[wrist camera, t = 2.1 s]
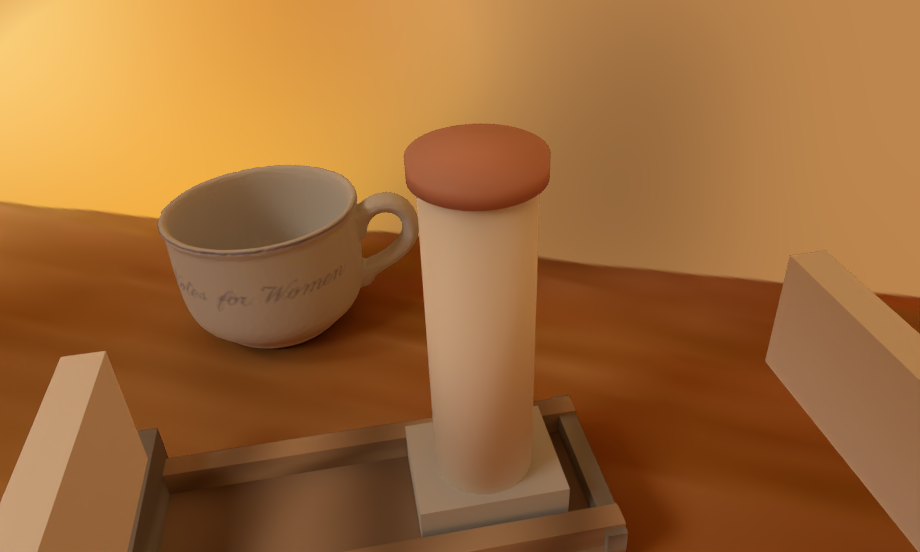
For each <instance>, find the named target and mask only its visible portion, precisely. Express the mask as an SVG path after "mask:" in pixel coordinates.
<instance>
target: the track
mask: <svg viewBox="0 0 920 552" xmlns="http://www.w3.org/2000/svg"><path fill="white" fill-rule="evenodd" d="M533 406H538V408H539V410H540V413H541V415H542V418H543V421H544V423H545V426H546V428H547V431H548V434H549V436H550V439H551V441H552V444H553V446H554V449H555V452H556V454H557V457H558V459H559V462H560V465H561V467H562V470H563V472H564V475H565V478H566V480H567V483H568V485H569V488H570V494H569V507H568V512H565V513H559V514H553V515H548V516H542V517H536V518H531V519H525V520H519V521H514V522H508V523H502V524H497V525H491V526H485V527H480V528H474V529H468V530H463V531H457V532H451V533H446V534H440V535H434V536H429V537H423V538H422V537H421V531H420V525H419V519H418V513H417V507H416V501H415V495H414V489H413V483H412V477H411V471H410V465H409V460H408V450H407V440H406V430H405V426H410V425H417V424H423V423H430V422H433V417H430V418H424V419H418V420H411V421H405V422H398V423H392V424H385V425H379V426H372V427H366V428H360V429H353V430H347V431H340V432H334V433H327V434H321V435H315V436H308V437H302V438H295V439H289V440H282V441H276V442H269V443H263V444H257V445H250V446H244V447H237V448H231V449H224V450H218V451H212V452H205V453H199V454H192V455H186V456H179V457H173V458H168V456H167V453H166V450H165V447H164V445H163V442H162V439H161V436H160V434H159V431H158V428H154V429H147V430H140V431H137V432H138V434H139V437H140V439H141V442H142V445H143V447H144V450H145V452H146V455H147V457H148V461H147V465H146V469H145V474H144V478H143V483H142V487H141V492H140V496H139V501H138V505H137V510H136V514H135V519H134V523H133V528H132V532H131V537H130V541H129V546H128V550H127V552H626V546H627V540H628V531H627V528H626V522H625V520H624V517H623V515H622V513H621V511H620V508H619V506H618V504H617V503H615V501H614V499H613V497H612V494H611V492H610V490H609V488H608V485H607V483H606V481H605V478H604V476H603V474H602V472H601V469H600V467H599V465H598V463H597V460H596V458H595V456H594V454H593V451H592V449H591V447H590V444H589V442H588V440H587V438H586V435H585V433H584V431H583V429H582V426H581V424H580V422H579V419H578V417H577V415H576V409H575V407H574V404H573V402H572V400H571V398H570V396H568V395H562V396H556V397H551V399H546V400H540V401H533Z"/></svg>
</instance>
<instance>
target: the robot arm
mask: <svg viewBox="0 0 920 552" xmlns="http://www.w3.org/2000/svg"><path fill="white" fill-rule="evenodd" d="M765 362H766V363H767V364H768V366H769V367H770V368H771V369H772V371H773V372H774V373H775V374H776V376H777V377H778V378H779V379H780V380H781V382H782V383H783V384H784V385H785V387H786V388H787V389H788V390H789V392H790V393H791V394H792V395H793V397H794V398H795V399H796V400H797V402H798V403H799V404H800V405H801V407H802V408H803V409H804V410H805V412H806V413H807V414H808V415H809V417H810V418H811V419H812V420H813V422H814V423H815V424H816V425H817V427H818V428H819V429H820V430H821V431H822V433H823V434H824V435H825V436H826V438H827V439H828V440H829V441H830V443H831V444H832V445H833V446H834V448H835V449H836V450H837V451H838V453H839V454H840V455H841V456H842V458H843V459H844V460H845V461H846V463H847V464H848V465H849V466H850V468H851V469H852V470H853V471H854V473H855V474H856V475H857V476H858V478H859V479H860V480H861V481H862V483H863V484H864V485H865V486H866V487H867V489H868V490H869V491H870V492H871V494H872V495H873V496H874V497H875V499H876V500H877V501H878V502H879V504H880V505H881V506H882V507H883V509H884V510H885V511H886V512H887V514H888V515H889V516H890V517H891V519H892V520H893V521H894V522H895V524H896V525H897V526H898V527H899V529H900V530H901V531H902V532H903V534H904V535H905V536H906V537H907V538H908V540H909V541H910V542H911V543H912V545H913V546H914V547H915V548H916V550H917V551H918V552H920V334H919V333H918V332H917V331H916V330H915V329H913V328H912V327H911V326H910V325H909V324H908V323H907V322H906V321H904V320H903V319H902V318H901V317H900V316H899V315H898V314H897V313H895V312H894V311H893V310H892V309H891V308H890V307H889V306H888V305H886V304H885V303H884V302H883V301H882V300H881V299H880V298H879V297H877V296H876V295H875V294H874V293H873V292H872V291H871V290H870V289H868V288H867V287H866V286H865V285H864V284H863V283H862V282H861V281H859V280H858V279H857V278H856V277H855V276H854V275H853V274H852V273H850V272H849V271H848V270H847V269H846V268H845V267H844V266H843V265H841V264H840V263H839V262H838V261H837V260H836V259H835V258H833V256H831V255H830V254H829V253H828V252H827V251H825V250H824V251H817V252H810V253H803V254H795V255H790V258H789V262H788V267H787V271H786V275H785V279H784V283H783V288H782V292H781V296H780V300H779V305H778V309H777V313H776V317H775V321H774V326H773V330H772V334H771V338H770V343H769V347H768V351H767V355H766V360H765ZM147 461H148V457H147V455H146V452H145V450H144V447H143V445H142V442H141V439H140V437H139V434H138V432H137V429H136V427H135V424H134V422H133V419H132V416H131V414H130V411H129V409H128V406H127V404H126V401H125V399H124V396H123V394H122V391H121V388H120V386H119V383H118V381H117V378H116V376H115V373H114V371H113V368H112V365H111V363H110V360H109V358H108V355H107V353H106V351H100V352H93V353H86V354H79V355H72V356H65V357H61V358H60V360H59V362H58V365H57V367H56V370H55V372H54V374H53V377H52V379H51V382H50V384H49V386H48V389H47V391H46V394H45V396H44V399H43V401H42V403H41V406H40V408H39V411H38V413H37V415H36V418H35V420H34V423H33V425H32V427H31V430H30V432H29V435H28V437H27V439H26V442H25V444H24V447H23V449H22V452H21V454H20V456H19V459H18V461H17V464H16V466H15V468H14V471H13V473H12V476H11V478H10V480H9V483H8V485H7V488H6V490H5V493H4V495H3V497H2V500H1V502H0V552H127V550H128V546H129V541H130V537H131V532H132V528H133V523H134V519H135V514H136V510H137V505H138V501H139V496H140V492H141V487H142V483H143V478H144V474H145V469H146V465H147Z"/></svg>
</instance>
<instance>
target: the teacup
mask: <svg viewBox="0 0 920 552" xmlns="http://www.w3.org/2000/svg"><path fill="white" fill-rule="evenodd" d="M356 202H357V195H356V191H355V189H354V186H353V185H352V184H351V183H350V181H349V180H348V179H347V178H345V177H344V176H342V175H341V174H338V173H336V172H334V171H329V170H326V169H322V168H318V167H310V166H298V165H277V166H267V167H257V168H252V169H246V170H242V171H239V172H233V173H229V174H225V175H222V176H219V177H216V178H214V179H210V180H208V181H205V182H203V183H200V184H198V185H196V186H194V187H192V188H191V189H189V190H187V191H185V192H184V193H182V194H181V195H180V196H178V197H177V198H176V199H174V200H173V201H171V202H170V204H169V205H168V206H167V207H165V208H164V210H162V212H161V216H160V218H159V221H158V229H159V233H160V235H161V237H162V238H163V239H164V241H165V243H166V246H167V250H168V253H169V257H170V260H171V264H172V267H173V270H174V273H175V277H176V280H177V283H178V286H179V288H180V291H181V294H182V296H183V299H184V302H185V304H186V306H187V308H188V310H189V312H190V313H191V315H192V316H193V318H194V319H195V320H196V321H197V323H198V324H199V325H200V326H201V327H203V328H204V329H205V330H206V331H208V332H209V333H211V334H213V335H214V336H216V337H219V338H221V339H224V340H227V341H230V342H234V343H238V344H241V345H244V346H248V347H254V348H262V349H271V348H282V347H288V346H293V345H296V344H300V343H303V342H305V341H308V340H310V339H312V338H314V337H316V336H318V335H320V334H321V333H322V332H324V331H325V330H327V329H328V328H329V327H330V326H331V325H332V324H333V323H334V322H335V321H337V320H338V319H339V318H340V317H341V316H343V315H344V314H345V313H346V312H347V311H348V309H349V308H350V307H351V306H352V304H353V303H354V301H355V299H356V297H357V295H358V293H359V290H360V288H362V287H366V286H368V285H370V284H371V283H372V282H373V281H374V279H375V277H376V275H377V274H379V273H380V272H382V271H384V270H385V269H387V268H389V267H390V266H392V265H393V264H395V263H396V262H398V261H399V260H400V259H401V258H402V257H404V256H405V255H406V254H407V253H408V252H409V251H410V250H411V248H412V247H413V245H414V243H415V242H416V239H417V236H418V232H419V226H418V217H417V214H416V212H415V210H414V208H413V206H412V205H411V204H410V202H409V201H408V200H407V199H405V198H404V197H402V196H400V195H398V194H395V193H391V192H383V193H378V194H374V195H372V196H370V197H368V198H366V199H365V200H363V201H362V202H361V203H359V204H357V203H356ZM382 212H388V213H393V214H395V215H397V216H398V217H399V218H400V219H401V221H402V225H403V227H402V231H401V233H400V235H399V236H398V238H397V239H396V240H395V241H394V242H393V243H392V244H390V245H389V246H388V247H386V248H385V249H383V250H382V251H380V252H378V253H376V254H374V255H372V256H370V257H368V258H363V257H362V245H361V240H362V239H363V238H364V237H365V235H366V232H367V226H368V224H369V221H370V220H371V219H372V217H374V216H375V215H376V214H379V213H382Z"/></svg>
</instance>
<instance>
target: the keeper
mask: <svg viewBox="0 0 920 552" xmlns="http://www.w3.org/2000/svg"><path fill="white" fill-rule="evenodd" d="M404 165H405V176H406V184H407V187H408V189H409V190H410V191H411V192H412V193H413V194H414V195H415V196H416V198H417V212H418V226H419V239H420V253H421V267H422V280H423V294H424V308H425V321H426V335H427V349H428V362H429V376H430V390H431V403H432V417H433V422H430V423H423V424H417V425H410V426H405V430H406V440H407V450H408V460H409V465H410V471H411V477H412V483H413V489H414V495H415V501H416V507H417V513H418V519H419V525H420V531H421V537H422V538H423V537H429V536H434V535H440V534H446V533H451V532H457V531H463V530H468V529H474V528H480V527H485V526H491V525H497V524H502V523H508V522H514V521H519V520H525V519H531V518H536V517H542V516H548V515H553V514H559V513H565V512H568V507H569V494H570V488H569V485H568V483H567V480H566V478H565V475H564V472H563V470H562V467H561V465H560V462H559V459H558V457H557V454H556V452H555V449H554V446H553V444H552V441H551V439H550V436H549V434H548V431H547V428H546V426H545V423H544V421H543V418H542V415H541V413H540V410H539V408H538V406H533V393H534V360H535V328H536V295H537V263H538V230H539V196H540V193H541V192H542V191H543V190H544V189H545V188H546V186H547V185H548V182H549V177H550V149H549V147H548V145H547V144H546V142H545V141H544V140H542V139H541V138H540V137H538V136H536V135H535V134H533V133H530V132H528V131H525V130H522V129H518V128H515V127H510V126H505V125H496V124H465V125H457V126H451V127H446V128H442V129H438V130H435V131H432V132H429V133H427V134H425V135H423V136H421V137H419V138H417V139H416V140H414V141H413V142H412V143H411V144H410V145H409V146H408V147H407V149H406V151H405V153H404Z"/></svg>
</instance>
